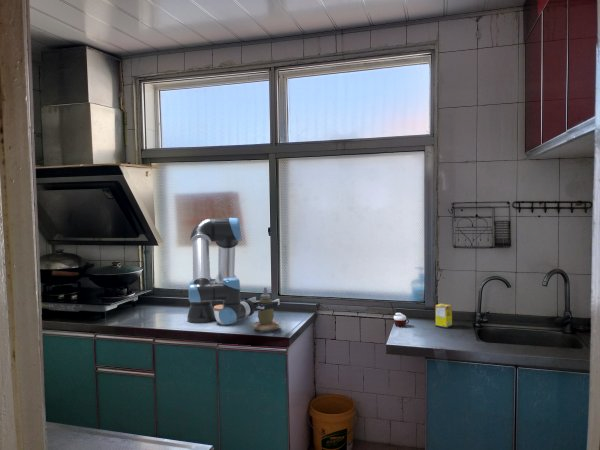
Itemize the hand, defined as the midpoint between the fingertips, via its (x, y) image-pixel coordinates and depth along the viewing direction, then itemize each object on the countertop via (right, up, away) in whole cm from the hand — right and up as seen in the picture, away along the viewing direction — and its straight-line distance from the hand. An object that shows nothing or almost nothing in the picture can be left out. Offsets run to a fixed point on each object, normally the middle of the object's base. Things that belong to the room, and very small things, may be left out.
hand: (266, 300), depth 227 cm
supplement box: (+89, -13, 0) cm, 90 cm away
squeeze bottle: (0, -12, 0) cm, 12 cm away
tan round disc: (0, -15, 0) cm, 15 cm away
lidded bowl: (-23, -15, +15) cm, 31 cm away
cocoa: (+67, -14, +3) cm, 68 cm away
